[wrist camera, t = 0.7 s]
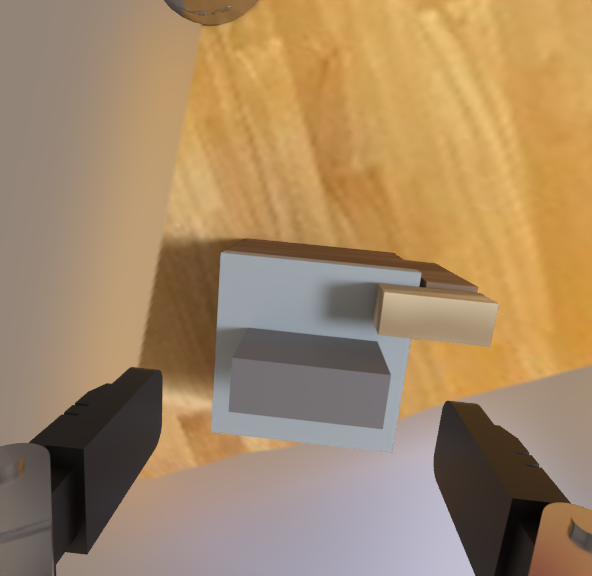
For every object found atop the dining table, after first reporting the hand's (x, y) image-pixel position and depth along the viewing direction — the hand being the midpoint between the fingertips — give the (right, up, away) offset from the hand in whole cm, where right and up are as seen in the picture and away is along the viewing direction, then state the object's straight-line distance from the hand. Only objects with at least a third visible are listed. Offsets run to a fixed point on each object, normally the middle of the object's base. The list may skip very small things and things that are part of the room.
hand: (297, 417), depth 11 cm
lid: (+1, 0, +17) cm, 17 cm away
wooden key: (+8, +2, +14) cm, 16 cm away
